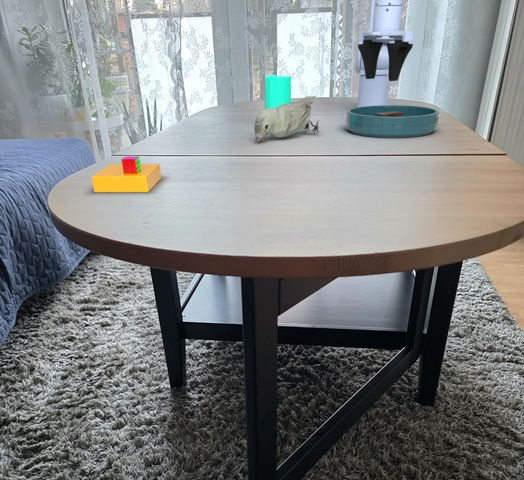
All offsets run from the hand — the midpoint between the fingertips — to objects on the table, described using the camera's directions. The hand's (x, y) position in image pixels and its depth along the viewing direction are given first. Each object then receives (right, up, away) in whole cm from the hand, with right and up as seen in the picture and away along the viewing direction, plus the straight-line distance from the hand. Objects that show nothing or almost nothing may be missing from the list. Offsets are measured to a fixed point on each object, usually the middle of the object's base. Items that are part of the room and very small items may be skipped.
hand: (381, 79), depth 113 cm
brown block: (+2, -10, +1) cm, 10 cm away
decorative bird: (-22, -16, -7) cm, 28 cm away
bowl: (+2, -12, -1) cm, 12 cm away
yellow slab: (-47, -36, -37) cm, 70 cm away
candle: (-23, -8, +7) cm, 25 cm away
